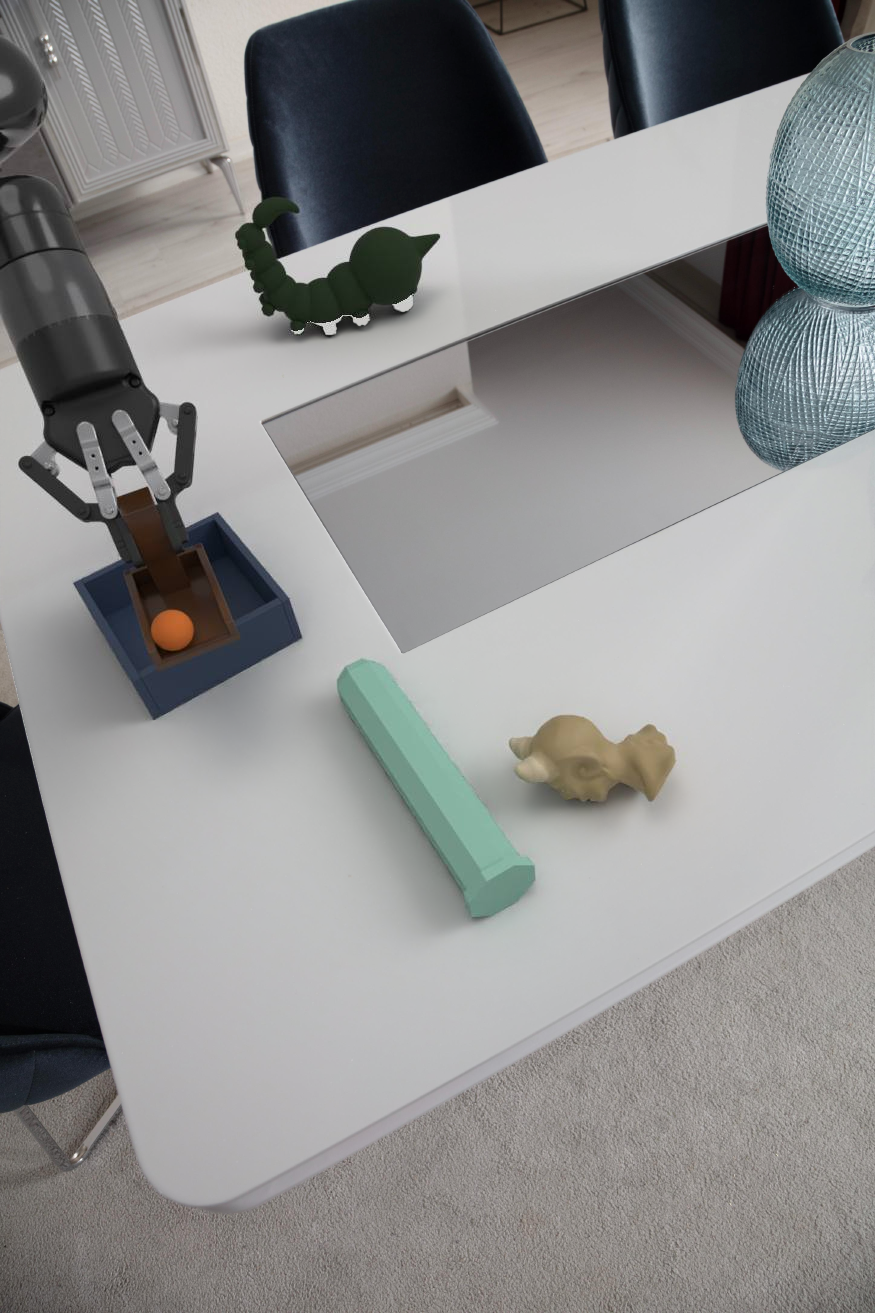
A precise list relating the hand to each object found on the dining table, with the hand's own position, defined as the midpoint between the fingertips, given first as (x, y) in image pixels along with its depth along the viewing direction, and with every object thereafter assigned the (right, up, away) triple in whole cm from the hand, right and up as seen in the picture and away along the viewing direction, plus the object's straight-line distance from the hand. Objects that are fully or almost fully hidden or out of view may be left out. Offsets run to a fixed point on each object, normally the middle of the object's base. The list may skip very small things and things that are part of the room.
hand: (160, 558), depth 68 cm
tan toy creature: (+33, -17, +7) cm, 38 cm away
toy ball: (+1, -5, -1) cm, 6 cm away
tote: (-3, -5, +22) cm, 23 cm away
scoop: (+1, -4, +3) cm, 5 cm away
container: (+20, -18, +8) cm, 28 cm away
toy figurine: (+9, +38, +57) cm, 69 cm away
